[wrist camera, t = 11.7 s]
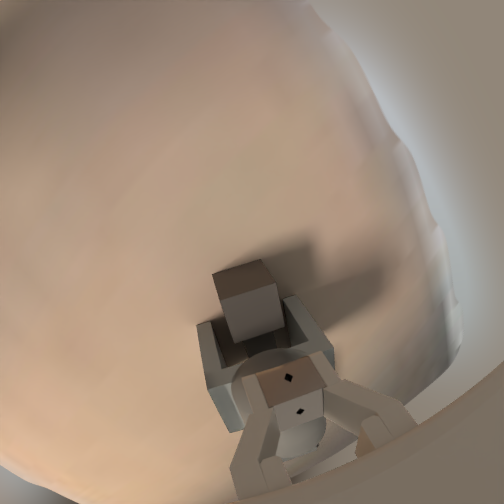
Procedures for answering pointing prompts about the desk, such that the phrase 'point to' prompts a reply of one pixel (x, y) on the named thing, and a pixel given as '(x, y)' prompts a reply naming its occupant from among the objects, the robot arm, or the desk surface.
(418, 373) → the desk surface
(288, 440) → the housing
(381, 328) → the desk surface
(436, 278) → the desk surface
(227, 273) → the grey long block-ended bar
